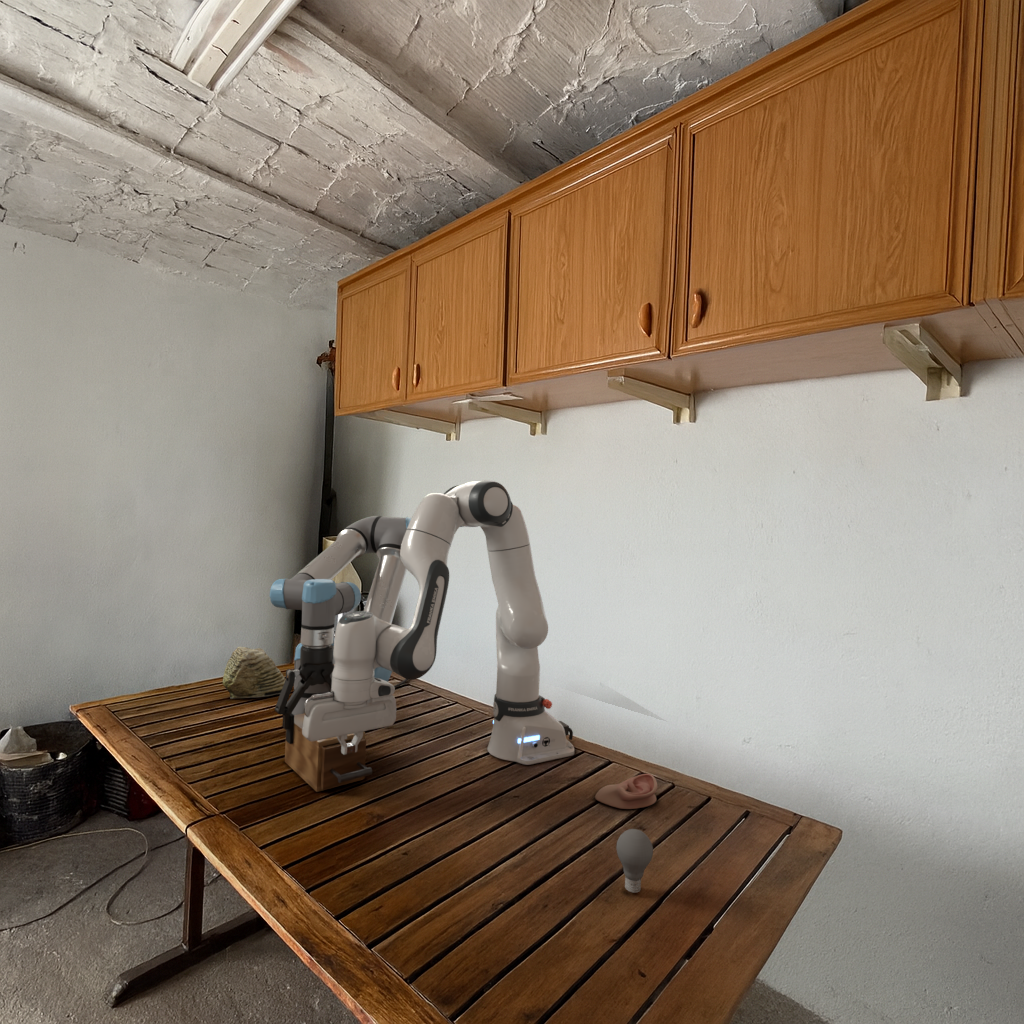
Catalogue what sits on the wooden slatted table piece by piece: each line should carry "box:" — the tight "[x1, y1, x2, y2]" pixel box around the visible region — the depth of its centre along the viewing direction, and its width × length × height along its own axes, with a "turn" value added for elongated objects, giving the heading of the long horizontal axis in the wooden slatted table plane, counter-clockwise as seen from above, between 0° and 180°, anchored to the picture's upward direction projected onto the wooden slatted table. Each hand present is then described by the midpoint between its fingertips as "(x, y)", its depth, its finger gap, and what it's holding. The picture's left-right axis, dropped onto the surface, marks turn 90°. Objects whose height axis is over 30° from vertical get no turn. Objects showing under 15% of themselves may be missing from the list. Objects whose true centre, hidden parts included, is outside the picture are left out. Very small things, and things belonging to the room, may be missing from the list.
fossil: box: [222, 646, 286, 699], centre depth 198 cm, size 9×18×15 cm, turn 132°
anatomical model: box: [594, 773, 658, 810], centre depth 139 cm, size 13×4×12 cm
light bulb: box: [615, 828, 654, 894], centre depth 106 cm, size 6×6×10 cm
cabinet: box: [284, 713, 366, 793], centre depth 146 cm, size 19×11×11 cm, turn 40°
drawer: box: [321, 738, 373, 791], centre depth 142 cm, size 23×10×9 cm, turn 40°
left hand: (313, 736), depth 151 cm, fingers closed on cabinet, 11 cm apart
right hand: (349, 752), depth 136 cm, fingers closed
